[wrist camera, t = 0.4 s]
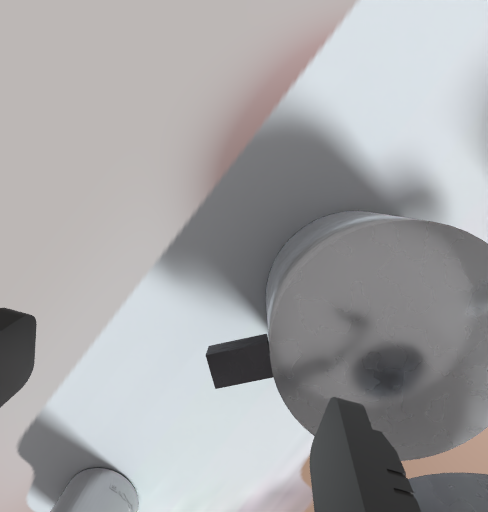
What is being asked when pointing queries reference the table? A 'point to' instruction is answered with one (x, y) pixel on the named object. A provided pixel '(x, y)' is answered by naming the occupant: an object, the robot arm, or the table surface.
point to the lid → (451, 492)
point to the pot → (375, 329)
